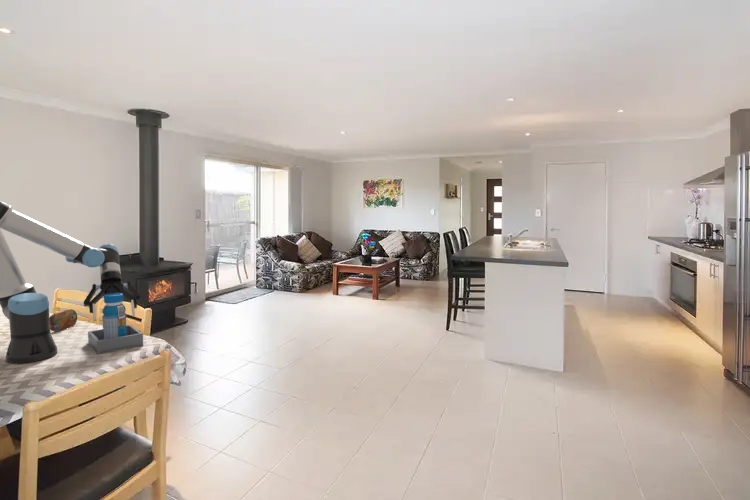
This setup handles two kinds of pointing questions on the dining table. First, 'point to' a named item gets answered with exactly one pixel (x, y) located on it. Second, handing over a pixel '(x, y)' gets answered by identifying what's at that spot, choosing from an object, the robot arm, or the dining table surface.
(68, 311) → the tin
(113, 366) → the dining table surface
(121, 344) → the tray
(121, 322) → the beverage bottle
